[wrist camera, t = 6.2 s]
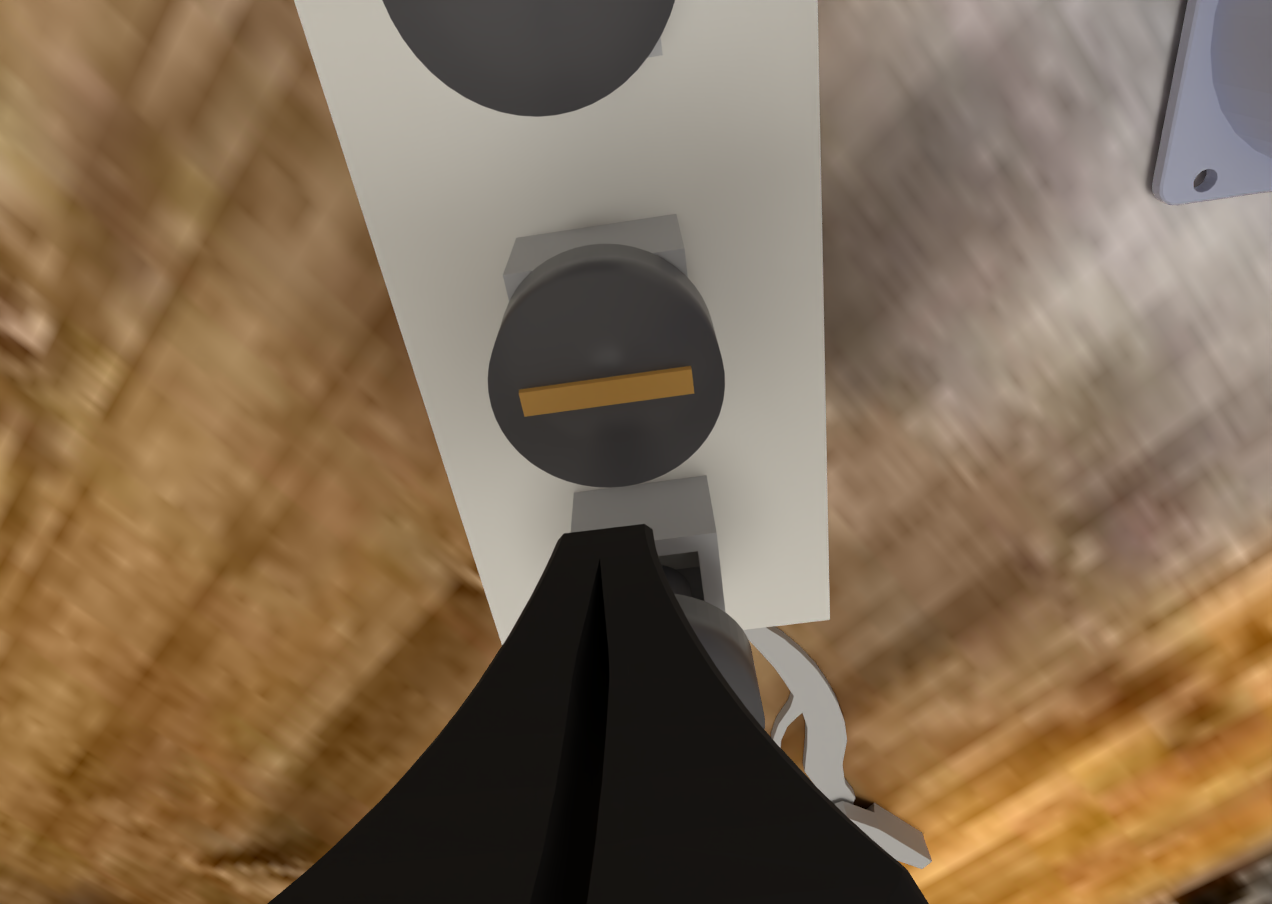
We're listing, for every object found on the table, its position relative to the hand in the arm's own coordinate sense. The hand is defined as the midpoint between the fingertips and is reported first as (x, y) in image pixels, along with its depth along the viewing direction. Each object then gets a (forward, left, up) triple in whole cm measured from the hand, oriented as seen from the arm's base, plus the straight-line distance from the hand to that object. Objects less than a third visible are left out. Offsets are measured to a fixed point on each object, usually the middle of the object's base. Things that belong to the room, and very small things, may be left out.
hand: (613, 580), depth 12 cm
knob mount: (0, -1, -10) cm, 10 cm away
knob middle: (0, -1, -8) cm, 8 cm away
